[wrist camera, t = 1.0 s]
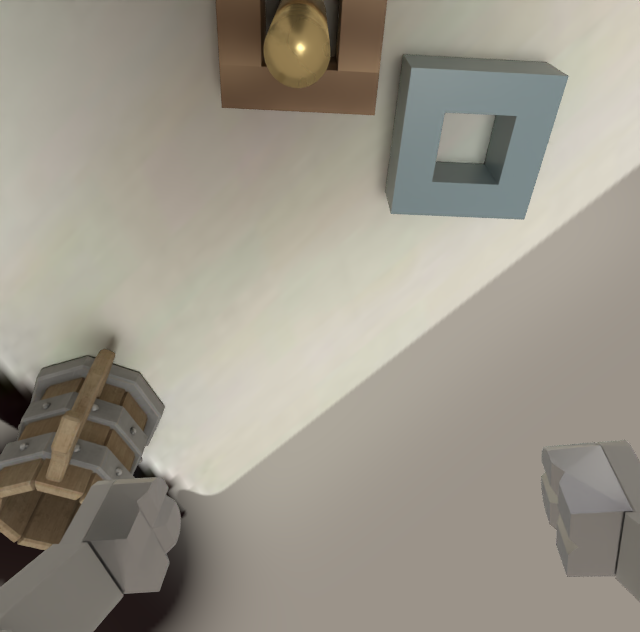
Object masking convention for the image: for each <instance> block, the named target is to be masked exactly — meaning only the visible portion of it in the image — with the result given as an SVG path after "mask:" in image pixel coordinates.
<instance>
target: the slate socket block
mask: <svg viewBox="0 0 640 632" xmlns="http://www.w3.org/2000/svg"><path fill="white" fill-rule="evenodd" d="M567 79H568V75H566V74H565V73H563V72H561V71H560V70H558V69H557V68H555V67H553V66H552V65H550V64H549V63H547V62H534V61H515V60H496V59H478V58H459V57H441V56H422V55H404V54H403V60H402V68H401V75H400V83H399V90H398V98H397V106H396V113H395V121H394V128H393V136H392V144H391V151H390V159H389V166H388V174H387V181H386V189H385V193H386V197H387V200H388V204H389V208H390V212H391V214H409V215H432V216H456V217H479V218H502V219H524V218H525V215H526V212H527V209H528V205H529V202H530V199H531V196H532V192H533V189H534V186H535V183H536V180H537V176H538V173H539V170H540V167H541V163H542V160H543V157H544V154H545V150H546V147H547V144H548V141H549V138H550V134H551V131H552V128H553V125H554V121H555V118H556V115H557V112H558V108H559V105H560V102H561V99H562V96H563V92H564V89H565V86H566V83H567ZM445 112H446V113H466V114H485V115H496V118H495V122H494V126H493V130H492V134H491V139H490V143H489V147H488V151H487V155H486V159H485V163H484V164H472V163H450V162H436V157H437V152H438V147H439V141H440V136H441V130H442V125H443V120H444V114H445Z"/></svg>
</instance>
